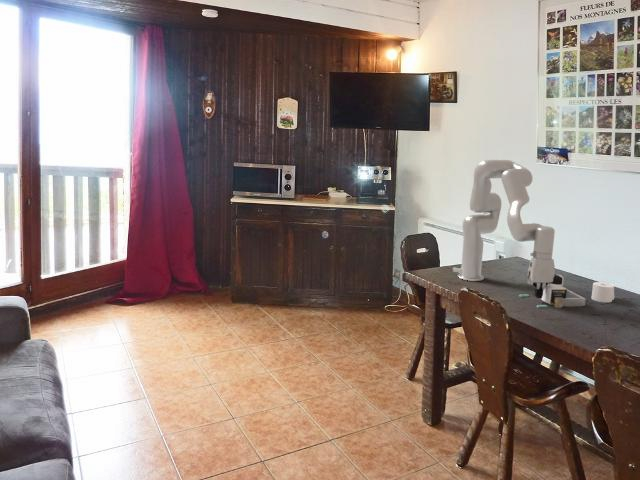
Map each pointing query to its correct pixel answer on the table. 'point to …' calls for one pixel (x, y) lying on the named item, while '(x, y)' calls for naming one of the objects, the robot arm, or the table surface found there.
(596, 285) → the toilet paper
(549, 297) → the medicine bottle
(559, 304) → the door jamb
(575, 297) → the index socket
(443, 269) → the table surface
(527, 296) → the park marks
